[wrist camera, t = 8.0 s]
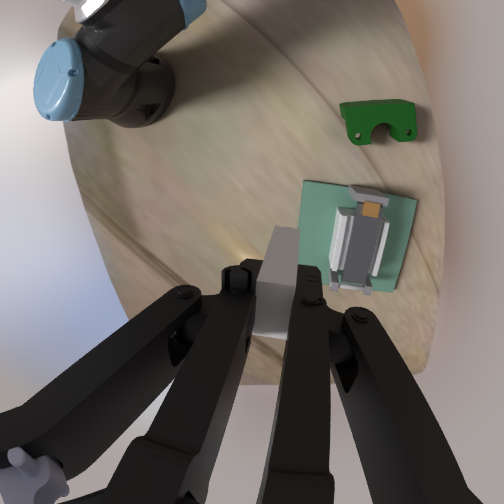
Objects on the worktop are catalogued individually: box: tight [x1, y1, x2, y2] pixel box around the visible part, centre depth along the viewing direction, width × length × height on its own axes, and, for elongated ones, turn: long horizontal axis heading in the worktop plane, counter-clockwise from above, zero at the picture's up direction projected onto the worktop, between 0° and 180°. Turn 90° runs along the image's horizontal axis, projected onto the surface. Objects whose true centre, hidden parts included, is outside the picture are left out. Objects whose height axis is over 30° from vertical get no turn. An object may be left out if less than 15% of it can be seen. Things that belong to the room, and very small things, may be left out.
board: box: [298, 180, 417, 295], centre depth 42 cm, size 18×20×8 cm
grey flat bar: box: [341, 201, 384, 285], centre depth 39 cm, size 14×4×2 cm, turn 176°
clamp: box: [339, 99, 417, 145], centre depth 35 cm, size 12×6×9 cm, turn 95°
